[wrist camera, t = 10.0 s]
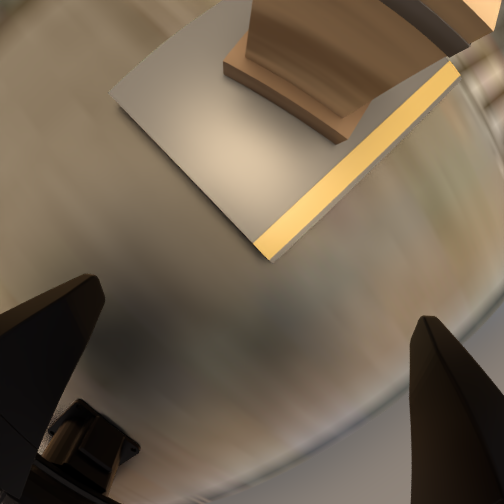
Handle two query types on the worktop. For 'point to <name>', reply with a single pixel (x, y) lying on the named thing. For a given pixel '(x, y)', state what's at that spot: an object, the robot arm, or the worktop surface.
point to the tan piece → (348, 52)
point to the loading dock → (261, 131)
